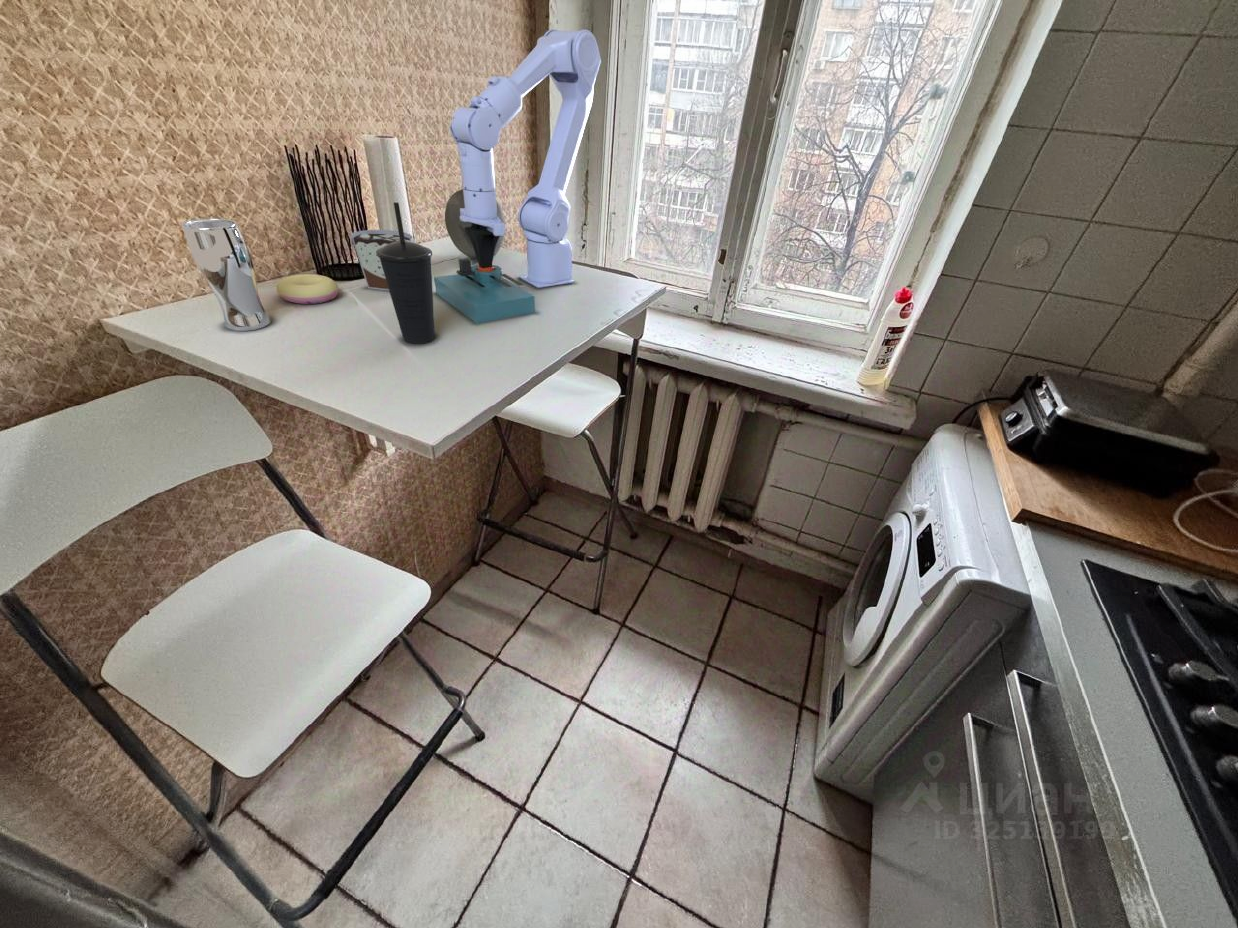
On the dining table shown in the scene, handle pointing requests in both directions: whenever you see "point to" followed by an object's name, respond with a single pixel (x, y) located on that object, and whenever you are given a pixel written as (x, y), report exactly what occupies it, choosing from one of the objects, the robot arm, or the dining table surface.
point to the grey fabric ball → (464, 225)
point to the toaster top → (497, 280)
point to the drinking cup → (410, 285)
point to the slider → (465, 267)
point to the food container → (374, 253)
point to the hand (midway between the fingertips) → (485, 266)
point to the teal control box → (484, 295)
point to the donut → (307, 288)
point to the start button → (485, 269)
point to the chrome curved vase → (227, 271)
